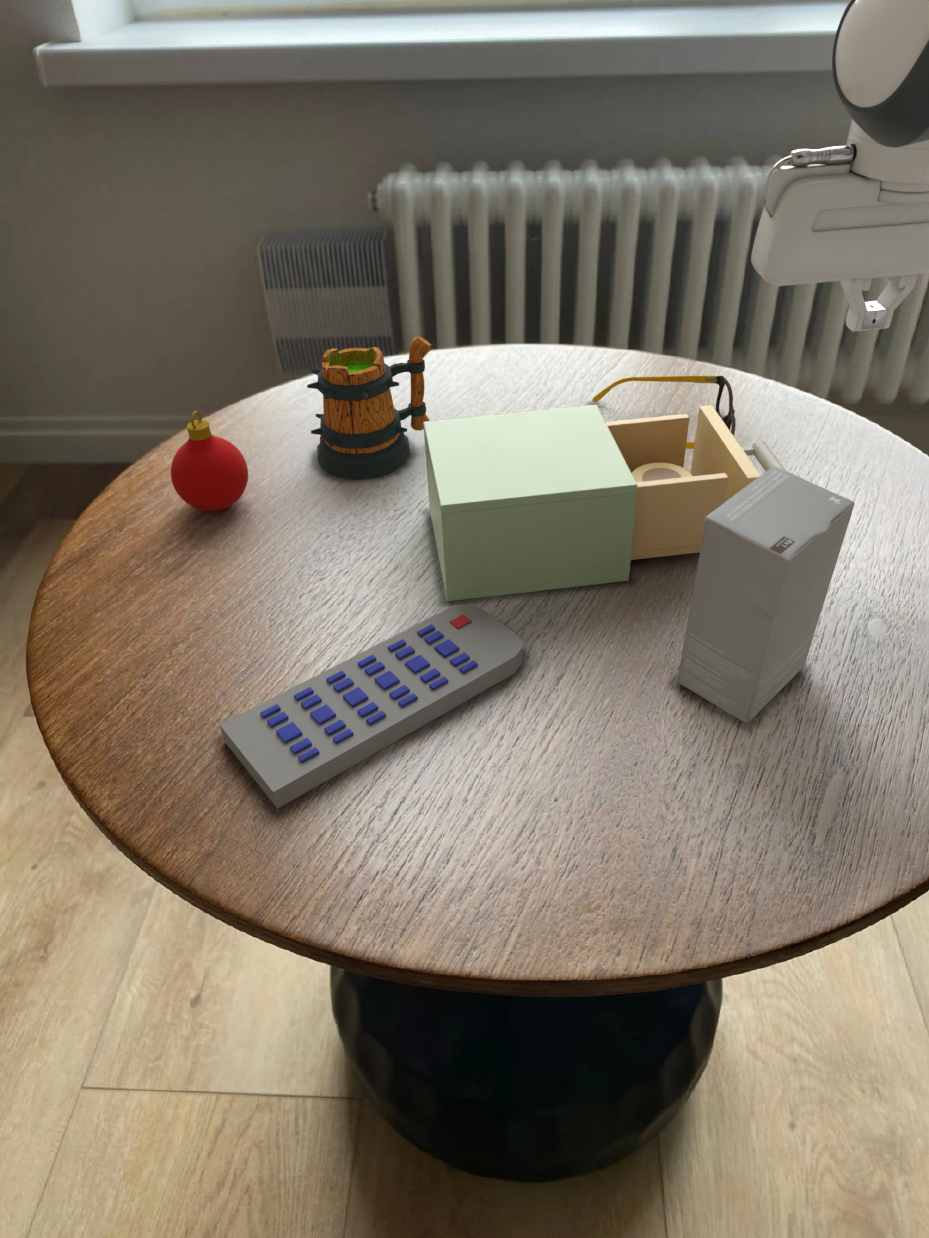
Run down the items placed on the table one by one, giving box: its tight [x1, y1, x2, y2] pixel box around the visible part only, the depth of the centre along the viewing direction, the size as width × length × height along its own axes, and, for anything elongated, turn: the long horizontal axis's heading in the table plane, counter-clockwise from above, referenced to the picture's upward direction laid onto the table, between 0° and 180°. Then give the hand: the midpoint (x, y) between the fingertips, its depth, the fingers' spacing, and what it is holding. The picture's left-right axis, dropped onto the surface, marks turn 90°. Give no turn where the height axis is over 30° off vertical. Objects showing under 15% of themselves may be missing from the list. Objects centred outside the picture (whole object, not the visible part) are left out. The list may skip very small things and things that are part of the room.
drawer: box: [605, 404, 787, 561], centre depth 84 cm, size 19×12×8 cm, turn 98°
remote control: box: [219, 603, 524, 809], centre depth 71 cm, size 8×23×2 cm, turn 127°
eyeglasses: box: [592, 375, 737, 450], centre depth 99 cm, size 14×14×4 cm
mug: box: [306, 336, 432, 480], centre depth 96 cm, size 13×10×12 cm
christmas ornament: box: [170, 410, 249, 512], centre depth 90 cm, size 7×7×10 cm
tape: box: [632, 463, 692, 482], centre depth 85 cm, size 6×6×4 cm
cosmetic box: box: [676, 467, 855, 724], centre depth 67 cm, size 8×7×16 cm
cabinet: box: [423, 404, 637, 602], centre depth 83 cm, size 16×14×10 cm
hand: (866, 327), depth 77 cm, fingers closed
